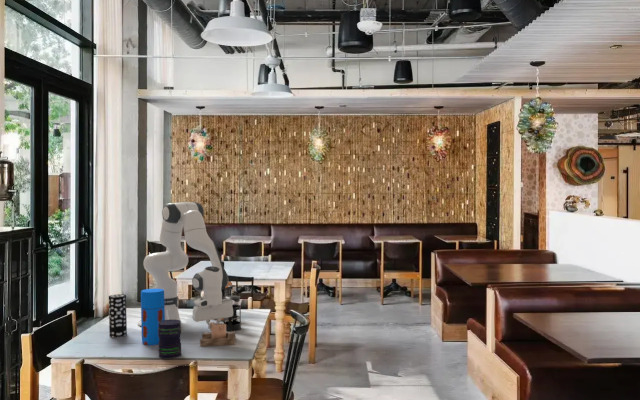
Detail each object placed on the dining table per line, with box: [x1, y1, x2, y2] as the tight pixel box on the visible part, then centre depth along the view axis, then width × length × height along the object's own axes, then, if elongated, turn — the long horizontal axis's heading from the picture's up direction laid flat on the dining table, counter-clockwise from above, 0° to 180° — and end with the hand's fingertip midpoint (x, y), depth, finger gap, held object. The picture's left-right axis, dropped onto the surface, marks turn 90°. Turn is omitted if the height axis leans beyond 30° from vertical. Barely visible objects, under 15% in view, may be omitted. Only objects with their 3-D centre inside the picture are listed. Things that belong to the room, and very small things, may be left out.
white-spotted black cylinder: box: [108, 293, 128, 338], centre depth 299 cm, size 8×8×20 cm
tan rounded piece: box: [209, 321, 227, 339], centre depth 287 cm, size 13×7×8 cm, turn 31°
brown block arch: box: [199, 331, 236, 347], centre depth 285 cm, size 16×14×3 cm
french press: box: [222, 284, 242, 332], centre depth 309 cm, size 12×9×23 cm
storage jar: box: [157, 319, 182, 360], centre depth 263 cm, size 10×10×15 cm
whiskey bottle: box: [221, 260, 233, 321], centre depth 335 cm, size 10×10×32 cm
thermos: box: [140, 288, 165, 346], centre depth 285 cm, size 11×11×25 cm
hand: (213, 328), depth 291 cm, fingers closed on tan rounded piece, 2 cm apart
